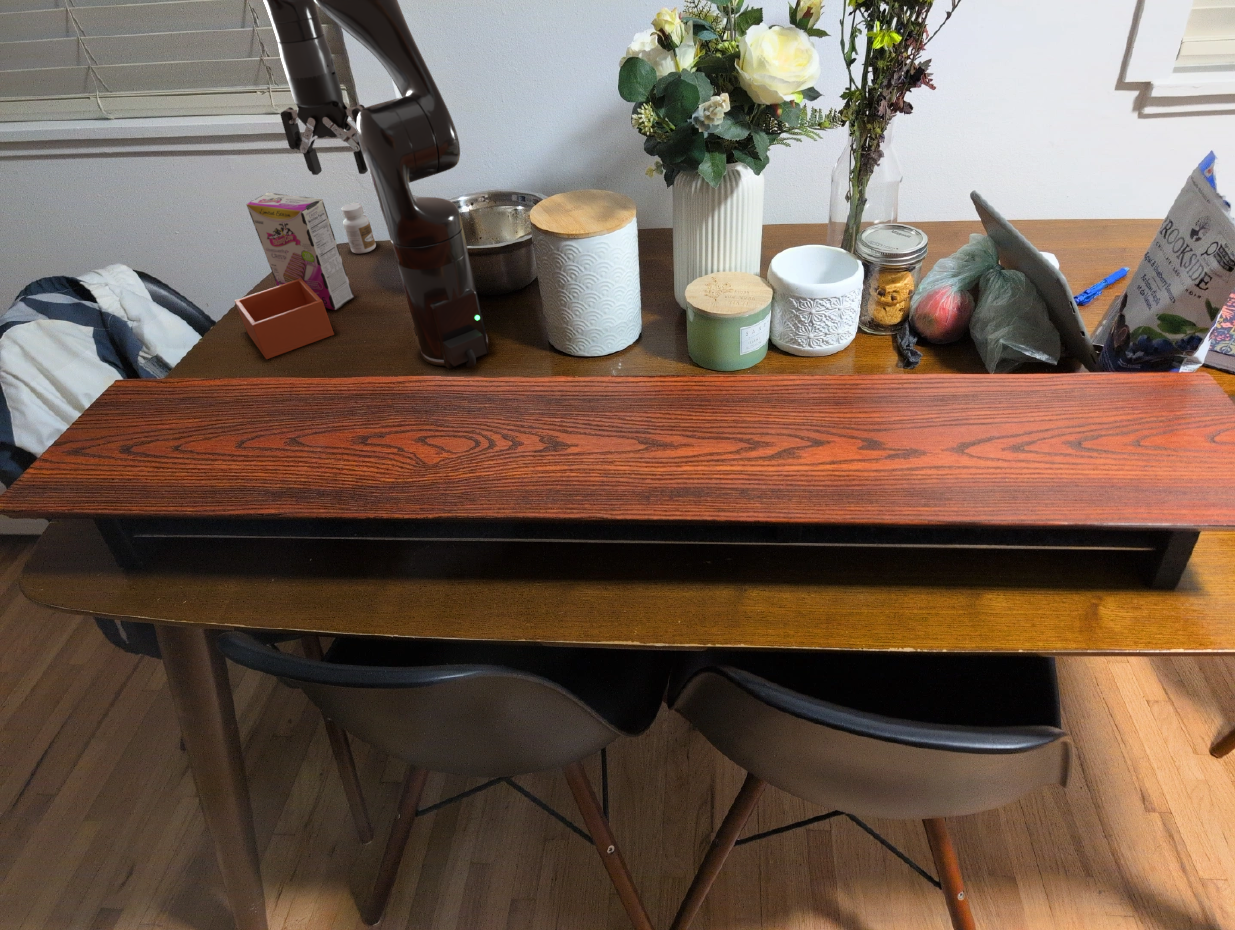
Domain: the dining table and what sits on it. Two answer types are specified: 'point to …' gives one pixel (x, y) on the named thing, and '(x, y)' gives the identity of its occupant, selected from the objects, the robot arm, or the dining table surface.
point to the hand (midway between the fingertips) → (340, 172)
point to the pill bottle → (358, 228)
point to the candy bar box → (301, 245)
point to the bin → (284, 318)
